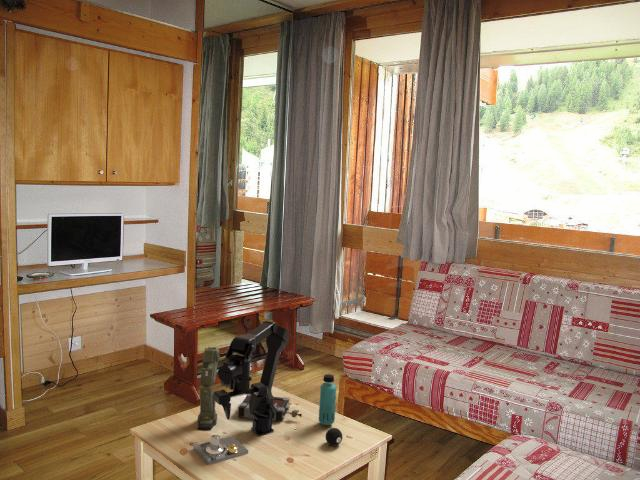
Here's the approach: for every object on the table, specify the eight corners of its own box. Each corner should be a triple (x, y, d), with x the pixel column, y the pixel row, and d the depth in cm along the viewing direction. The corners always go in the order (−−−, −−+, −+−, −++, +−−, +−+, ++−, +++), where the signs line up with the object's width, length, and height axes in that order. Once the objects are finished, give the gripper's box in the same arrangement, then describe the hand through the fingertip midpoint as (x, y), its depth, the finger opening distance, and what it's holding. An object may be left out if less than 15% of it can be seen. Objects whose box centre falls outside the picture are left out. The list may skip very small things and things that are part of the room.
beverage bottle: (320, 429, 209) (323, 379, 206) (316, 421, 215) (318, 372, 213) (336, 427, 211) (339, 378, 208) (331, 420, 217) (334, 371, 215)
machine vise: (247, 403, 229) (248, 391, 229) (306, 410, 226) (306, 398, 225) (237, 418, 215) (237, 406, 214) (299, 426, 211) (300, 413, 211)
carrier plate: (232, 438, 198) (232, 429, 198) (248, 453, 188) (248, 443, 188) (193, 448, 189) (193, 439, 189) (207, 464, 180) (208, 454, 179)
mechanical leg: (211, 432, 200) (217, 349, 203) (192, 431, 200) (198, 348, 203) (218, 424, 213) (224, 347, 217) (200, 423, 213) (206, 346, 217)
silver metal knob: (219, 446, 190) (219, 431, 189) (226, 454, 185) (227, 438, 184) (202, 450, 186) (203, 435, 186) (210, 458, 182) (210, 443, 181)
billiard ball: (331, 450, 193) (332, 434, 193) (322, 443, 198) (322, 427, 198) (345, 446, 197) (346, 430, 196) (335, 439, 202) (336, 423, 201)
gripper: (254, 361, 199) (252, 402, 201) (206, 370, 188) (205, 413, 190) (269, 371, 190) (267, 414, 192) (220, 381, 179) (219, 426, 181)
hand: (240, 416), depth 189 cm, fingers open, 9 cm apart
